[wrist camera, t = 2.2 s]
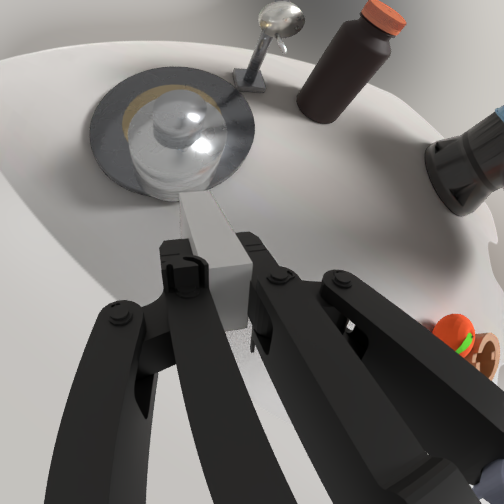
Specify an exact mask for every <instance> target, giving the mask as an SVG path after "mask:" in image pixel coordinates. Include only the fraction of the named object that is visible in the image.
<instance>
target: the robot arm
mask: <svg viewBox="0 0 504 504" xmlns="http://www.w3.org/2000/svg"><path fill="white" fill-rule="evenodd" d="M425 162H426V167H427V171H428V174H429V177H430V179H431V182H432V184H433V186H434V188H435V190H436V192H437V193H438V195H439V197H440V198H441V200H442V201H443V202H444V204H445V205H446V206H447V207H448V208H449V209H450V210H451V211H452V212H453V213H455V214H456V215H458V216H466V215H468V214H470V213H472V212H474V211H475V210H476V209H477V208H478V207H479V206H480V205H481V204H482V203H483V202H484V200H485V199H486V198H487V197H488V196H489V195H490V194H491V193H492V192H494V191H495V190H498V189H500V188H503V189H504V105H503V106H501V107H500V108H497V109H495V112H494V113H492V114H491V115H490V116H488V117H486V118H485V119H484V120H482V121H481V122H479V123H478V124H476V125H475V126H473V127H472V128H471V129H469V130H468V131H467V132H465V133H464V134H462V135H460V136H456V137H452V138H448V139H443V140H439V141H436V142H435V143H433V144H432V145H430V146H429V147H428V148H427V150H426V153H425ZM179 199H180V226H181V239H176V240H167V241H163V243H162V245H161V246H160V248H159V249H160V259H161V268H162V270H161V271H162V279H163V286H164V289H163V293H162V295H161V296H160V297H159V298H158V299H157V300H156V301H154V302H153V303H151V304H149V305H146V306H144V307H140V305H138V304H136V303H135V302H132V301H127V300H122V301H116V302H113V303H110V304H108V305H107V306H105V307H104V308H103V309H102V310H101V312H100V313H99V315H98V317H97V319H96V322H95V324H94V327H93V329H92V332H91V334H90V337H89V339H88V342H87V344H86V347H85V349H84V352H83V355H82V358H81V360H80V363H79V366H78V369H77V372H76V374H75V377H74V380H73V383H72V387H71V389H70V393H69V396H68V399H67V403H66V406H65V409H64V412H63V416H62V419H61V423H60V427H59V431H58V435H57V439H56V443H55V447H54V451H53V456H52V460H51V466H50V470H49V476H48V481H47V487H46V494H45V500H44V504H146V486H147V471H148V458H149V447H150V436H151V425H152V418H153V410H154V401H155V394H156V387H157V379H158V372H159V371H162V370H164V369H166V368H168V367H171V366H173V365H175V364H176V365H177V370H178V375H179V380H180V384H181V389H182V394H183V398H184V402H185V407H186V411H187V414H188V419H189V422H190V427H191V431H192V434H193V438H194V441H195V445H196V449H197V452H198V456H199V459H200V463H201V466H202V469H203V473H204V476H205V479H206V482H207V485H208V488H209V491H210V494H211V497H212V500H213V503H214V504H297V502H296V500H295V498H294V495H293V493H292V491H291V489H290V487H289V485H288V483H287V481H286V479H285V477H284V474H283V472H282V470H281V468H280V466H279V464H278V461H277V459H276V457H275V455H274V452H273V450H272V448H271V446H270V443H269V442H268V439H267V437H266V434H265V432H264V430H263V427H262V425H261V423H260V420H259V418H258V416H257V413H256V411H255V408H254V406H253V403H252V401H251V398H250V396H249V394H248V391H247V389H246V386H245V384H244V381H243V378H242V376H241V373H240V371H239V368H238V366H237V363H236V361H235V358H234V355H233V353H232V350H231V347H230V345H229V342H228V339H227V337H226V334H225V332H226V331H232V330H238V329H243V328H247V325H248V317H249V319H250V321H251V323H252V325H253V326H252V335H251V345H250V350H251V353H252V352H254V348H255V345H256V347H257V350H258V352H259V354H260V356H261V358H262V361H263V363H264V365H265V367H266V369H267V371H268V374H269V376H270V378H271V380H272V382H273V384H274V386H275V389H276V391H277V393H278V395H279V397H280V399H281V401H282V403H283V405H284V408H285V410H286V412H287V414H288V416H289V418H290V420H291V422H292V424H293V426H294V428H295V430H296V432H297V434H298V436H299V438H300V440H301V442H302V444H303V446H304V448H305V450H306V452H307V454H308V456H309V458H310V460H311V462H312V464H313V466H314V468H315V470H316V472H317V474H318V476H319V478H320V479H321V482H322V483H323V485H324V487H325V489H326V491H327V493H328V495H329V497H330V498H331V500H332V502H333V504H481V502H480V501H479V500H480V499H482V498H484V499H485V500H486V501H488V502H489V503H490V504H504V391H503V390H501V389H500V388H499V387H498V386H497V385H496V384H494V383H493V382H492V381H491V380H490V379H488V378H487V377H486V376H485V375H484V374H482V373H481V372H480V371H479V370H478V369H476V368H475V367H474V366H473V365H472V364H470V363H469V362H468V361H467V360H465V359H464V358H463V357H462V356H460V355H459V354H458V353H457V352H455V351H454V350H453V349H452V348H450V347H449V346H448V345H447V344H445V343H444V342H443V341H442V340H440V339H439V338H438V337H436V336H435V335H434V334H433V333H431V332H430V331H429V330H427V329H426V328H425V327H424V326H422V325H421V324H420V323H418V322H417V321H416V320H414V319H413V318H412V317H410V316H409V315H408V314H406V313H405V312H404V311H402V310H401V309H400V308H398V307H397V306H396V305H394V304H393V303H392V302H390V301H389V300H388V299H386V298H385V297H384V296H382V295H381V294H380V293H378V292H377V291H375V290H374V289H373V288H371V287H370V286H369V285H367V284H366V283H364V282H363V281H362V280H360V279H359V278H357V277H356V276H355V275H353V274H351V273H349V272H346V271H343V270H331V271H328V272H326V273H325V274H324V276H323V279H322V282H314V281H302V280H301V279H300V278H299V276H298V275H297V274H296V273H295V272H294V271H292V270H290V269H288V268H285V267H280V266H279V265H278V264H277V262H276V261H275V260H274V258H273V257H272V255H271V254H270V253H269V251H268V250H267V248H266V247H265V246H264V245H263V243H262V241H261V240H260V239H259V237H258V236H256V235H254V234H253V233H251V232H239V233H235V232H234V231H233V229H232V227H231V226H230V224H229V222H228V221H227V219H226V217H225V216H224V214H223V212H222V210H221V209H220V207H219V205H218V204H217V202H216V200H215V199H214V197H213V195H212V194H211V192H210V191H197V192H183V193H179ZM349 320H350V321H351V322H353V323H354V324H355V327H354V330H349V329H348V328H347V324H348V322H349ZM425 451H426V452H427V453H428V454H429V455H428V454H427V453H426V452H425ZM469 484H471V485H474V486H473V488H471V487H470V485H469Z"/></svg>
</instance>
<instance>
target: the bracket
mask: <svg viewBox="0 0 504 504" xmlns="http://www.w3.org/2000/svg"><path fill="white" fill-rule="evenodd" d="M499 358H500V345H499V341H498V338H497V337H496V336H495V335H494V334H493V333H482V334H475V341H474V345H473V347H472V349H471V351H470V352H469V354H468V355H467V356H466V357H465V358H464V359H465V360H467V361H468V362H469V363H470V364H472V365H473V366H474V367H475V368H476V369H478V370H479V371H480V372H481V373H482V374H484V375H485V376H486V377H487V378H488V379H490V380H491V381H492V379H493V377H494V375H495V373H496V370H497V368H498V364H499Z"/></svg>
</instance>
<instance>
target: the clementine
mask: <svg viewBox="0 0 504 504" xmlns="http://www.w3.org/2000/svg"><path fill="white" fill-rule="evenodd" d="M432 333H433V334H434V335H435V336H436V337H438V338H439V339H440V340H442V341H443V342H444V343H445V344H447V345H448V346H449V347H450V348H452V349H453V350H454V351H455V352H457V353H458V354H459V355H460V356H462V357H463V358H465V357H466V356H467V355H468V354H469V352H470V351H471V349H472V347H473V345H474V341H475V330H474V327H473V325H472V323H471V321H470V320H469V319H468V318H467V317H465V316H463V315H461V314H450V315H447V316H445V317H443V318H442V319H441V320H440V321H438V323H437V324H436V326H435V327H434V329H433V331H432Z"/></svg>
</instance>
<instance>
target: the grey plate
mask: <svg viewBox="0 0 504 504" xmlns="http://www.w3.org/2000/svg"><path fill="white" fill-rule="evenodd" d="M172 90H189V91H192V92H195V93H196V94H198V95H200V96H201V97H202V98H203V99H204V101H206V102H208V103H210V104H211V105H212V106H214V107H215V108H216V109H217V110H218V111H219V112H220V114H221V115H222V117H223V118H224V120H225V123H226V126H227V140H226V143H225V146H224V149H223V152H222V155H221V158H220V161H219V164H218V167H217V170H216V173H215V176H214V178H213V180H212V182H211V183H210V185H209V186H208V187H207V188H206V189H205V190H204V191H206V190H208V189H211V188H213V187H215V186H217V185H218V184H220V183H222V182H223V181H225V180H226V179H227V178H229V177H230V176H231V175H232V174H233V173H234V172H235V171H237V169H238V168H239V167H240V166H241V164H242V163H243V162H244V160H245V158H246V156H247V155H248V153H249V150H250V148H251V145H252V143H253V139H254V134H255V124H254V117H253V114H252V111H251V109H250V107H249V105H248V103H247V101H246V100H245V98H244V97H243V96H242V94H241V93H240V92H239V91H238V90H237V89H236V88H235V87H233V86H232V85H231V84H230V83H228V82H227V81H225V80H224V79H222V78H220V77H218V76H216V75H214V74H211V73H209V72H206V71H202V70H199V69H194V68H188V67H162V68H156V69H151V70H147V71H144V72H141V73H138V74H136V75H133V76H131V77H129V78H127V79H126V80H124V81H122V82H121V83H119V84H118V85H117V86H115V87H114V88H113V89H112V90H110V91H109V92H108V93H107V94H106V96H105V97H104V98H103V99H102V101H101V102H100V103H99V105H98V107H97V108H96V110H95V112H94V115H93V117H92V121H91V125H90V143H91V147H92V150H93V153H94V156H95V158H96V160H97V162H98V164H99V166H100V167H101V169H102V170H103V171H104V173H105V174H106V175H107V176H108V177H109V178H110V179H111V180H113V181H114V182H116V183H117V184H119V185H120V186H122V187H124V188H126V189H128V190H130V191H133V192H136V193H139V194H142V195H147V196H150V195H149V194H148V193H146V192H145V191H144V190H143V189H142V188H141V187H140V186H139V184H138V183H137V181H136V178H135V176H134V171H133V166H132V160H131V155H130V149H129V143H128V128H129V125H130V122H131V120H132V118H133V117H134V115H135V114H136V113H137V111H138V110H139V109H141V108H142V107H143V106H144V105H146V104H147V103H149V102H151V101H152V100H155V99H157V98H158V97H160V96H161V95H162V94H164V93H166V92H169V91H172ZM151 197H152V196H151Z"/></svg>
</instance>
